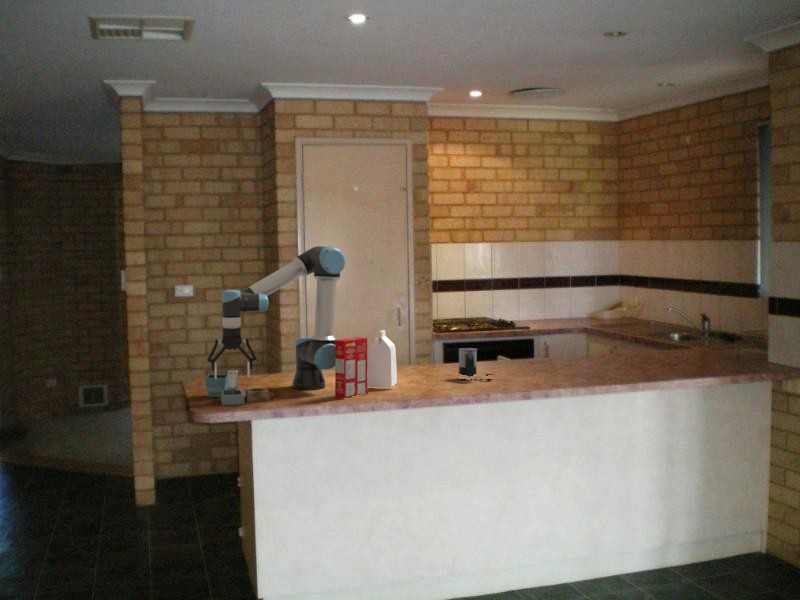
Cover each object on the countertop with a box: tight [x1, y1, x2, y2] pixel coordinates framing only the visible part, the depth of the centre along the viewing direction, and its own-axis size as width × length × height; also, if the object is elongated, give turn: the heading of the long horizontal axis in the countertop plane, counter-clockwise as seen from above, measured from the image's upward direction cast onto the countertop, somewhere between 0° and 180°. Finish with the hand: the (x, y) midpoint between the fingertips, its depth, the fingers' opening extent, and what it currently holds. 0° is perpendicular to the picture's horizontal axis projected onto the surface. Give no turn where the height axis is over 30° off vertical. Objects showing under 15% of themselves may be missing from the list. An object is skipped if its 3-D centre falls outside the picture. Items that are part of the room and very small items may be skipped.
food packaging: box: [334, 336, 368, 399], centre depth 368 cm, size 15×5×25 cm, turn 141°
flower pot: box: [204, 374, 228, 399], centre depth 366 cm, size 9×9×9 cm
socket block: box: [245, 387, 270, 403], centre depth 361 cm, size 9×9×4 cm
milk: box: [367, 329, 398, 387], centre depth 390 cm, size 12×12×26 cm
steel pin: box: [227, 369, 239, 395], centre depth 355 cm, size 4×4×12 cm
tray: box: [220, 388, 245, 406], centre depth 355 cm, size 9×13×4 cm
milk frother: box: [458, 347, 494, 377], centre depth 411 cm, size 14×16×15 cm
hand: (232, 377), depth 354 cm, fingers open, 13 cm apart
